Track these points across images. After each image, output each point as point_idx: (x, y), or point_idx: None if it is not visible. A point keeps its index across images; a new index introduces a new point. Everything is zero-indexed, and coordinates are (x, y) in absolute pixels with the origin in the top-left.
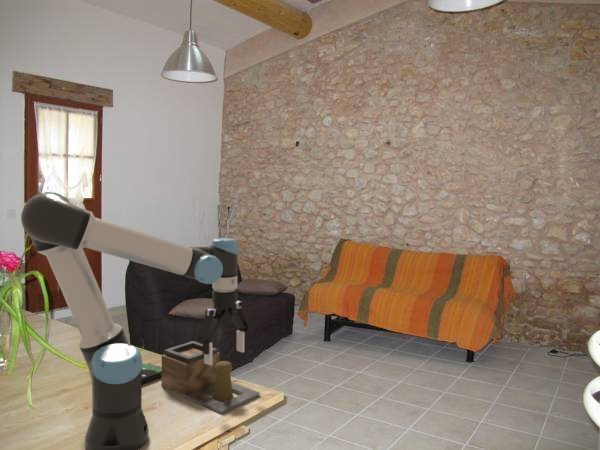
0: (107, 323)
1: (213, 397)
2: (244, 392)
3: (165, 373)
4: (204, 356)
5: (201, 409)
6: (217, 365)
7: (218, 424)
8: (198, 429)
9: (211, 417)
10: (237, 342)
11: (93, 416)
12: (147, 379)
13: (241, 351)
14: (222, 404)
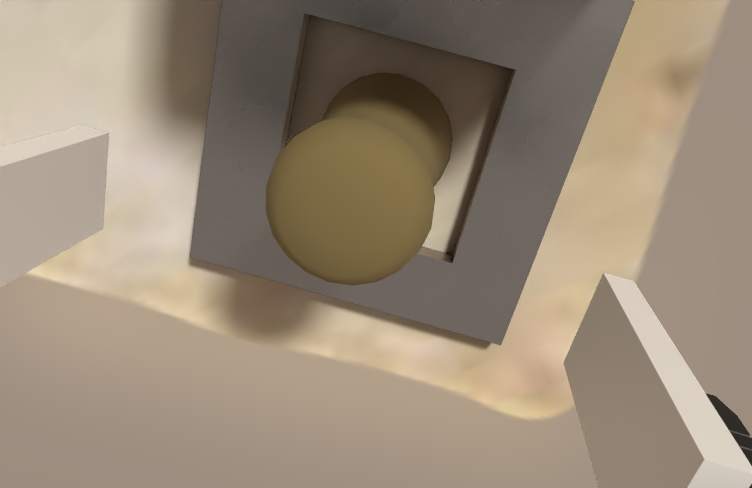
0: None
1: (339, 93)
2: (462, 263)
3: None
4: (21, 146)
5: (179, 110)
6: (274, 180)
7: (108, 280)
8: None
9: (140, 213)
10: (624, 346)
11: None
12: None
13: (571, 351)
14: (252, 219)
